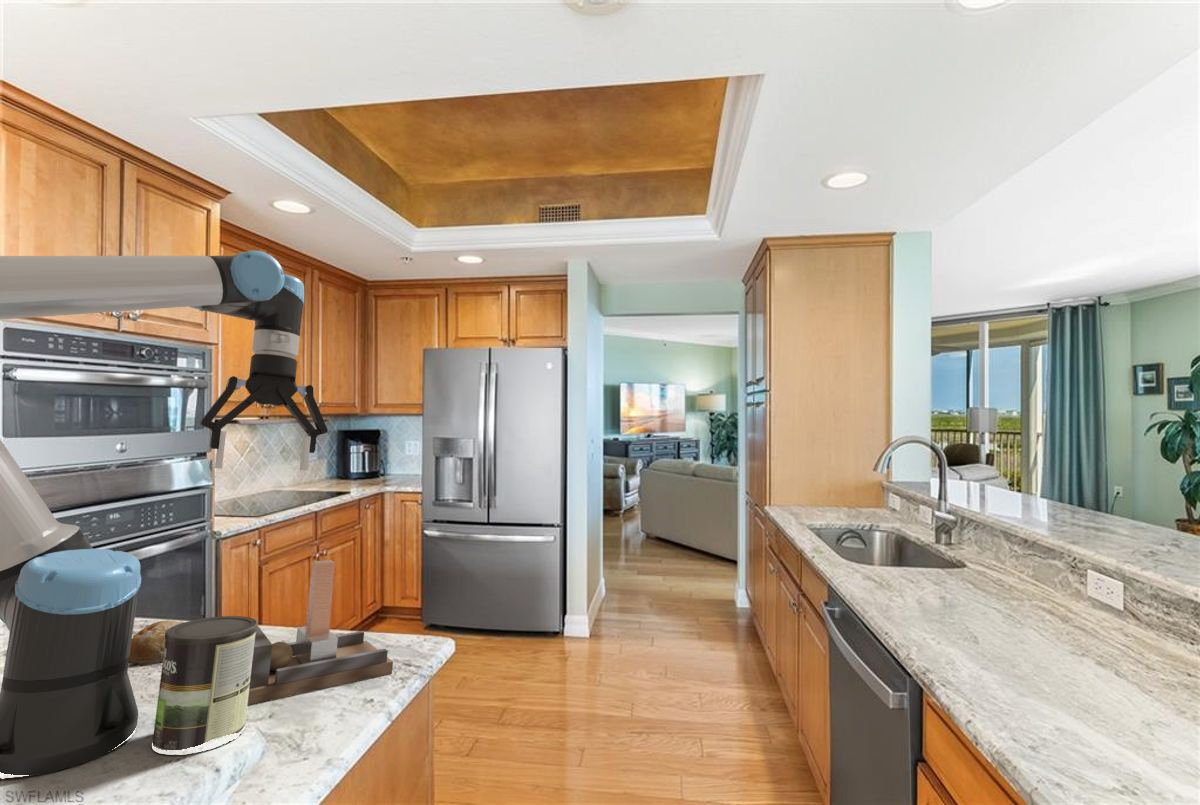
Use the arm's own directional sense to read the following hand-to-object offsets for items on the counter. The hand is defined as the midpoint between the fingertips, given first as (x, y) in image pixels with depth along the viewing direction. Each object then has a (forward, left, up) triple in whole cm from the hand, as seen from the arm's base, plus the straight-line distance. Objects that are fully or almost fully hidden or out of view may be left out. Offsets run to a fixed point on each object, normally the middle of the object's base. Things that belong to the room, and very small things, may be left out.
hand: (262, 469), depth 100 cm
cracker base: (+9, -11, -35) cm, 37 cm away
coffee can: (-8, -25, -35) cm, 44 cm away
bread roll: (-11, +15, -35) cm, 40 cm away
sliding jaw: (+9, -11, -32) cm, 35 cm away
